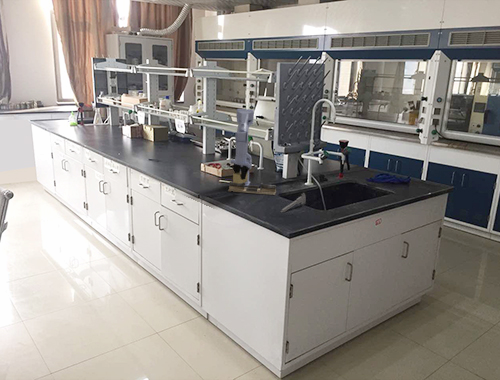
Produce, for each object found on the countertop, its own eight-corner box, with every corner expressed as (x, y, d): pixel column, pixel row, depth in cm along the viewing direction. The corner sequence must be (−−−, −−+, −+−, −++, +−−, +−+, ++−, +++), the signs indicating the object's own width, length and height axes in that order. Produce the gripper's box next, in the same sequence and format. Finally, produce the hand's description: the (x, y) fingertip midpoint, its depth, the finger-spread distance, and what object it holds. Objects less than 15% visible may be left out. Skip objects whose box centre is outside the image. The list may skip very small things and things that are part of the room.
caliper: (303, 203, 213) (304, 192, 212) (305, 204, 213) (306, 192, 211) (280, 212, 198) (280, 200, 197) (282, 213, 198) (282, 200, 196)
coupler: (233, 182, 224) (233, 173, 223) (242, 180, 229) (242, 171, 228) (238, 183, 222) (238, 174, 220) (247, 181, 227) (247, 172, 225)
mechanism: (230, 188, 237) (231, 179, 235) (276, 191, 233) (276, 182, 232) (228, 191, 230) (228, 182, 229) (274, 194, 227) (275, 186, 225)
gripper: (226, 152, 223) (225, 177, 227) (245, 157, 214) (244, 182, 218) (235, 151, 228) (235, 175, 232) (254, 155, 219) (253, 180, 223)
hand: (240, 178), depth 225 cm, fingers closed on coupler, 4 cm apart
